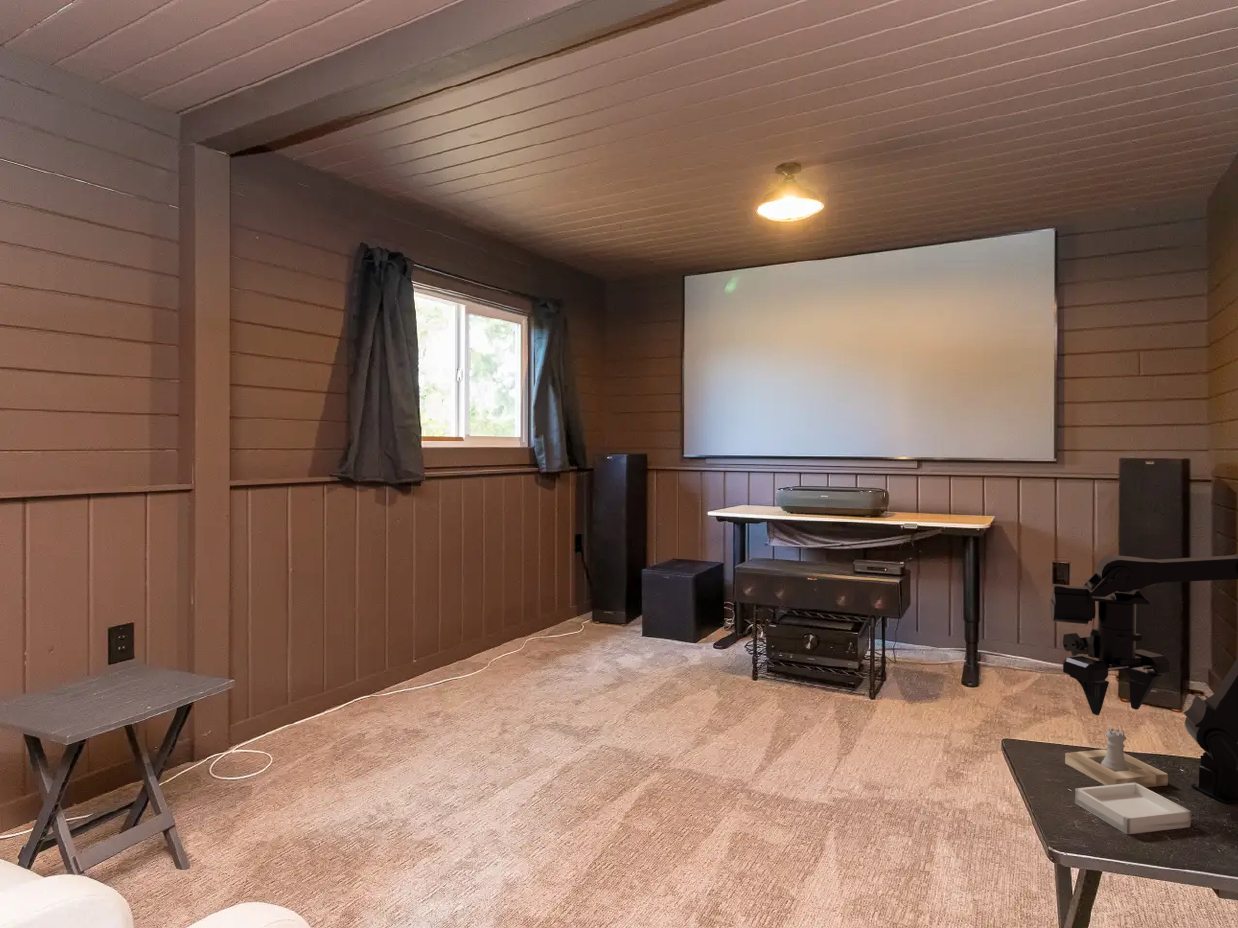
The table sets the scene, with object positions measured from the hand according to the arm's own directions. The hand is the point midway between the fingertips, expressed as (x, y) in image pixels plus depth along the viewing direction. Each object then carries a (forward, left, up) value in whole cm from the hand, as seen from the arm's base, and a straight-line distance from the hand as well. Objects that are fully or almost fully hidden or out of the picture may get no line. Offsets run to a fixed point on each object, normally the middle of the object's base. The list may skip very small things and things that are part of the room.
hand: (1115, 711), depth 133 cm
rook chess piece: (-1, -1, -12) cm, 12 cm away
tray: (+9, +12, -12) cm, 19 cm away
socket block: (-1, -1, -12) cm, 12 cm away
